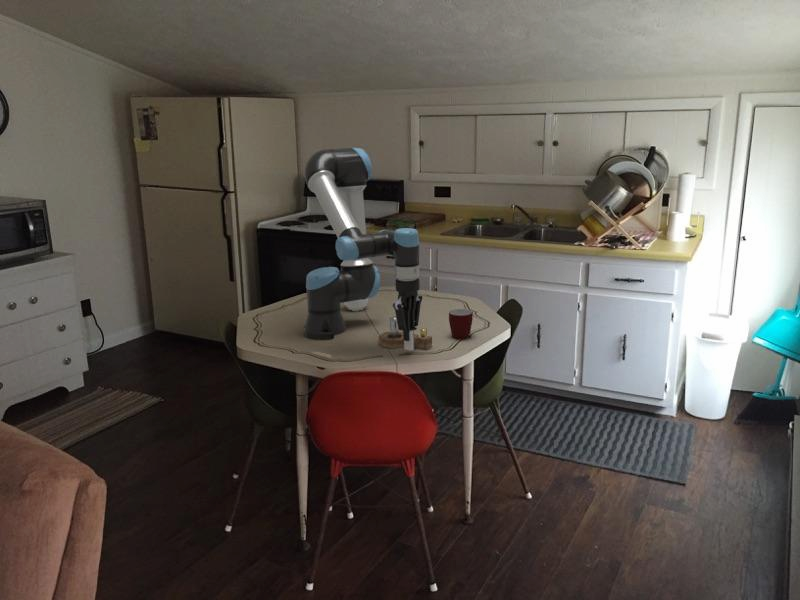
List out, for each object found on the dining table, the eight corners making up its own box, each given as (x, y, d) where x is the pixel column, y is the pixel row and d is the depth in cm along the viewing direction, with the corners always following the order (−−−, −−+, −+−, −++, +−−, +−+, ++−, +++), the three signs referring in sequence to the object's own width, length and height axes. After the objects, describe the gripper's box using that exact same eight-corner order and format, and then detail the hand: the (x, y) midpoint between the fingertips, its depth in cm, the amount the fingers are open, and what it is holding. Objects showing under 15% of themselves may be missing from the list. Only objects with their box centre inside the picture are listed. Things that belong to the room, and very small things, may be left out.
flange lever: (374, 345, 230) (374, 335, 229) (388, 336, 239) (388, 327, 238) (423, 353, 222) (423, 342, 221) (436, 343, 231) (436, 333, 230)
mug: (447, 334, 244) (447, 307, 241) (469, 333, 244) (470, 306, 242) (450, 344, 234) (450, 315, 231) (473, 343, 234) (474, 315, 231)
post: (388, 343, 232) (387, 318, 230) (394, 341, 234) (393, 316, 232) (395, 345, 230) (395, 319, 228) (401, 342, 233) (400, 317, 230)
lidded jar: (340, 312, 274) (339, 289, 271) (345, 305, 284) (344, 283, 281) (367, 313, 272) (366, 290, 270) (371, 305, 283) (370, 283, 280)
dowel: (419, 343, 232) (419, 329, 230) (423, 341, 234) (422, 327, 232) (424, 344, 231) (424, 330, 229) (428, 342, 232) (428, 328, 231)
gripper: (404, 284, 209) (406, 357, 215) (429, 275, 219) (430, 345, 225) (385, 281, 213) (387, 353, 219) (410, 272, 223) (411, 341, 229)
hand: (408, 349), depth 222 cm, fingers closed
